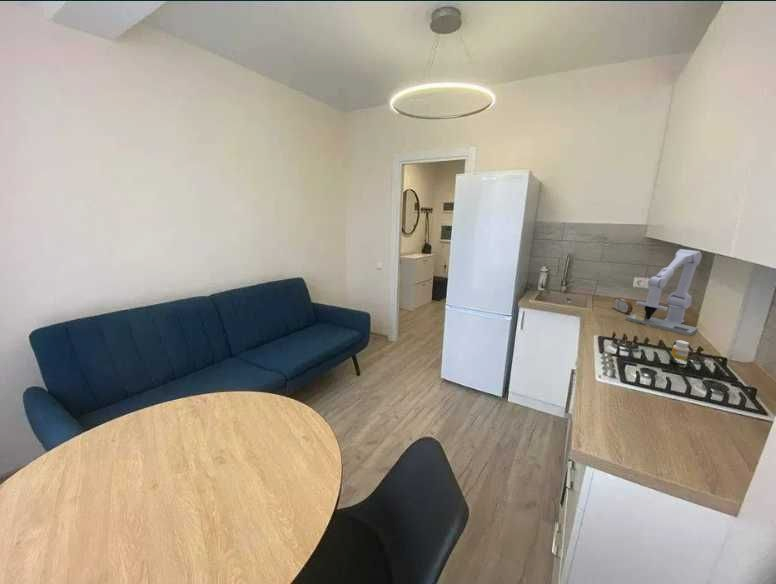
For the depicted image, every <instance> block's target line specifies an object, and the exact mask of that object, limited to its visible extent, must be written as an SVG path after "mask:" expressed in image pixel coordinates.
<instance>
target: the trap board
mask: <svg viewBox="0 0 776 584" xmlns="http://www.w3.org/2000/svg"><path fill="white" fill-rule="evenodd" d="M636 315H637V313H633V314H630V315H628V316H626V318H625V321H627V320H629V321H628V322H631V321H633V322H632V323H635V322H638V323H637V324H639V323H642V324H641V325H643V324H646V325H645V326H647V325H649V326H648V327H651V326H653V327H652V328H655V327H657V328H656V329H659V328H660V330H663V331H668V332H670V333H672V332H673V333H676V334H680V335H684V336H688V337H691V336H693V335H694V334H696V332H698V329H699V328H698V327H696V326H691V325H686V324H683V323H681V324H679V323H674V322H670V321H666V320H664V319H660V318H656V317H652V316H651V318H650V319H649V320H648V319H646V320H644V321H643V320H639V319H636Z"/></svg>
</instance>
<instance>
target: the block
mask: <svg viewBox="0 0 776 584" xmlns="http://www.w3.org/2000/svg"><path fill="white" fill-rule="evenodd" d="M636 314H637V315H636V319H639V320H643V321H644V320H646V312H645V311H644V312H643V311H638V312H636Z"/></svg>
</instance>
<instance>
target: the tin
mask: <svg viewBox="0 0 776 584" xmlns="http://www.w3.org/2000/svg"><path fill="white" fill-rule="evenodd" d="M613 308H614V309H615V310H616V311H618V310H619V311H618V312H620V311H621V312H620V313H622V312H623V314H628V313H629V314H631V313H632V312H633V304H632V302H631V301H630V300H627V299H625V298H622V297H617V298H615V299H614V300H613Z"/></svg>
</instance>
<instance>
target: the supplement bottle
mask: <svg viewBox="0 0 776 584" xmlns="http://www.w3.org/2000/svg"><path fill="white" fill-rule="evenodd" d="M675 342H676V343H675V344H674V345H672V347H671V352H670V355H672V356H673V357H675V358H677V359H682V360H684V359H687V360H688V356H689V352H690V347H689V345H690V344H689V343H690V342H687V341H685V340H681V339H680V340H679V339H677V340H676V341H675Z"/></svg>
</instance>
